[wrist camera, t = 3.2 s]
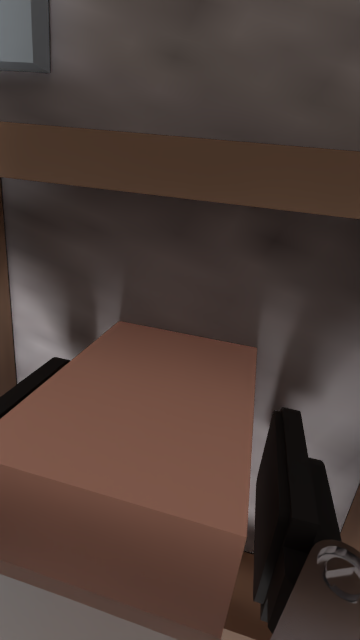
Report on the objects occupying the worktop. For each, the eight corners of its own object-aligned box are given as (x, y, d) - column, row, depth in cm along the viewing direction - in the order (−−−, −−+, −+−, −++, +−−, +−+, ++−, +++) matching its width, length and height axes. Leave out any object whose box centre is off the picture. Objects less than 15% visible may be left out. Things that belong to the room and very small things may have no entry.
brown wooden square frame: (345, 603, 14) (366, 701, 11) (5, 496, 17) (-46, 553, 14) (534, 185, 8) (667, 177, 6) (-35, 132, 11) (-131, 110, 8)
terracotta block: (233, 462, 13) (202, 710, 7) (114, 431, 14) (-13, 624, 8) (257, 347, 11) (246, 537, 5) (119, 320, 12) (-40, 451, 6)
